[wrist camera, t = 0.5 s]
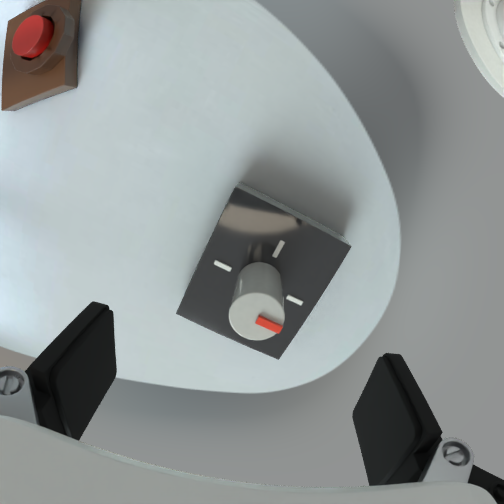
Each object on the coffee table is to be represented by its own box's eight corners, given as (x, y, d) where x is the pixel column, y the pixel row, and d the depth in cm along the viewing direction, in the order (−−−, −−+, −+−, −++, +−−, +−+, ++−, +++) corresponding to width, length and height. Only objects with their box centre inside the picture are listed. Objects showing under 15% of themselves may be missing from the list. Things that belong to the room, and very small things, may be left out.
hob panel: (239, 182, 26) (235, 186, 23) (343, 236, 27) (352, 247, 24) (184, 298, 30) (175, 314, 27) (278, 341, 31) (278, 360, 28)
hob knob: (229, 291, 26) (219, 329, 21) (249, 253, 25) (242, 284, 19) (269, 310, 26) (268, 351, 21) (290, 274, 25) (295, 309, 20)
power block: (19, 24, 21) (-3, 17, 17) (90, -9, 20) (70, -22, 17) (14, 111, 25) (-11, 110, 21) (85, 85, 24) (61, 79, 20)
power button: (25, 28, 19) (14, 25, 17) (56, 13, 18) (45, 8, 17) (21, 63, 20) (10, 61, 18) (52, 49, 19) (41, 45, 18)
